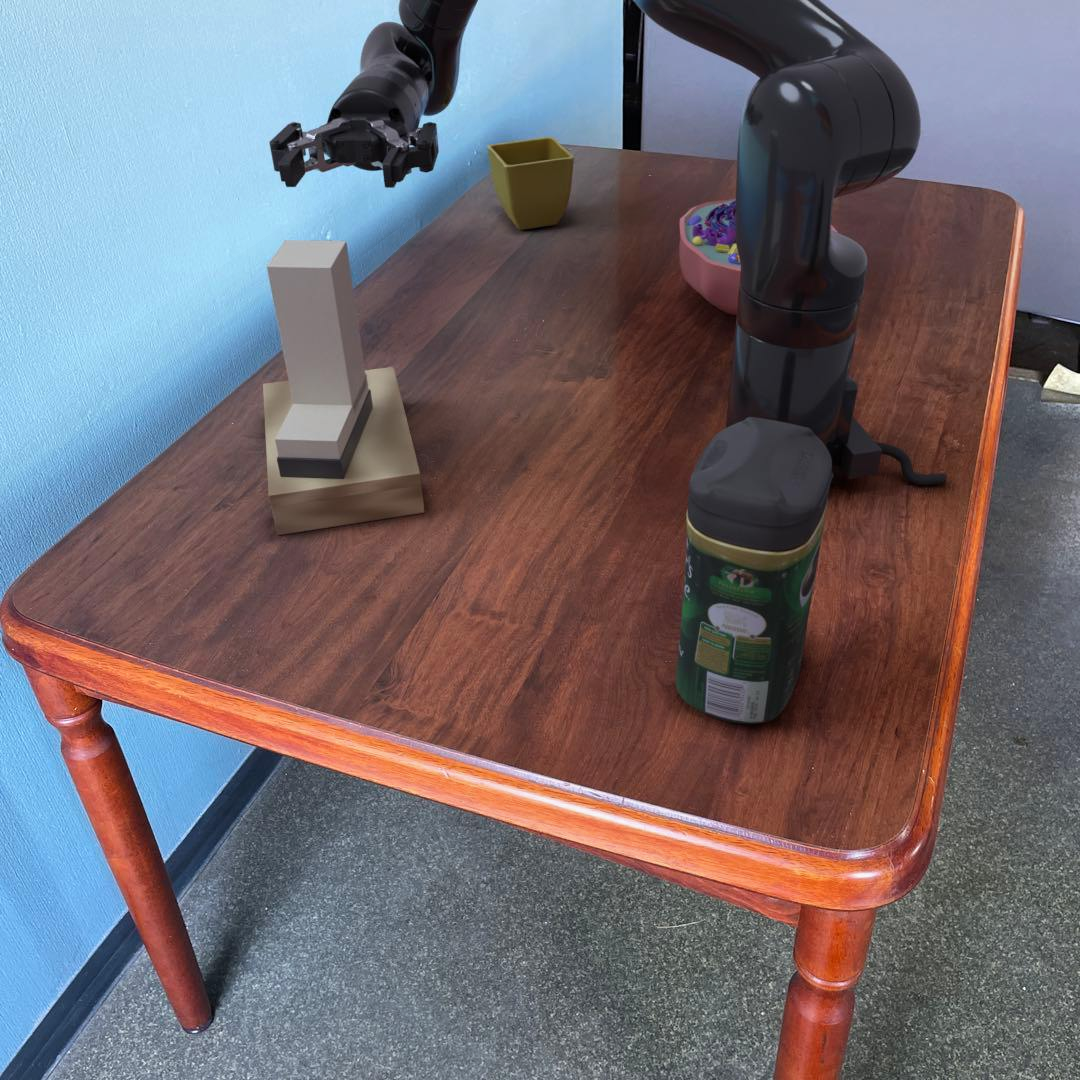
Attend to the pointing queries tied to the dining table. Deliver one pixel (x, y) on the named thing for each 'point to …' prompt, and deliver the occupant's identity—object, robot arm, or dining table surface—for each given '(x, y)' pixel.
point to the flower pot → (532, 180)
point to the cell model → (712, 253)
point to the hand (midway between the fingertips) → (337, 176)
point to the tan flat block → (372, 476)
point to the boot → (319, 358)
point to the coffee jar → (750, 568)
